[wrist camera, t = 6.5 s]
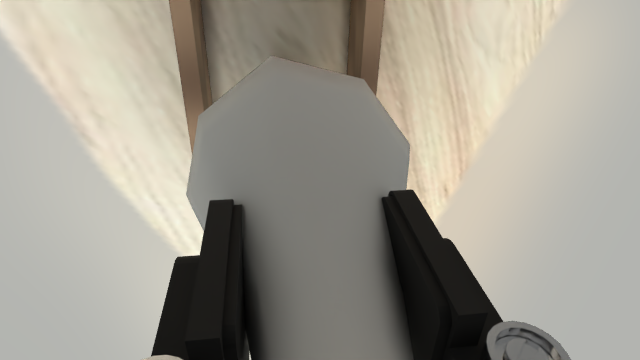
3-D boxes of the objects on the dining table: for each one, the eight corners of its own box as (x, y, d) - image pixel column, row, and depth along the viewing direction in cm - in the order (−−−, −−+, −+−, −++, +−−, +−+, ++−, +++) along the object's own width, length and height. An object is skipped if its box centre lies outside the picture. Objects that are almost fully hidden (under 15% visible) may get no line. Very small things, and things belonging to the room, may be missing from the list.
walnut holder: (178, -34, 23) (164, -30, 20) (369, -31, 24) (387, -27, 21) (202, 143, 29) (194, 171, 25) (356, 138, 30) (369, 163, 27)
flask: (443, 132, 14) (727, 433, 6) (323, 272, 17) (393, 623, 8) (259, 7, 11) (271, 225, 3) (150, 198, 14) (-17, 614, 5)
